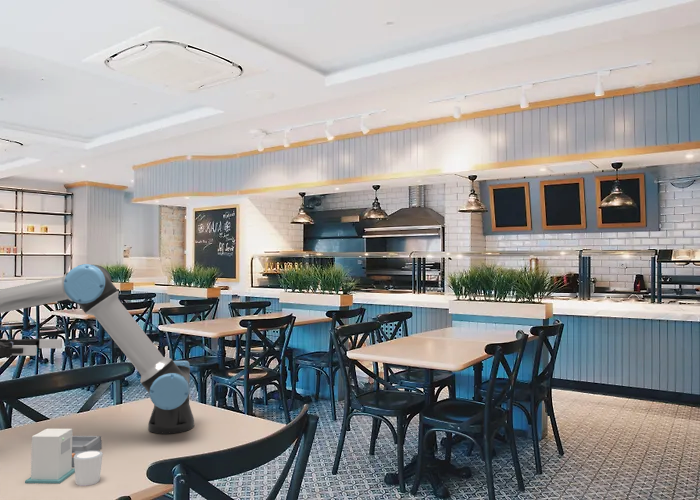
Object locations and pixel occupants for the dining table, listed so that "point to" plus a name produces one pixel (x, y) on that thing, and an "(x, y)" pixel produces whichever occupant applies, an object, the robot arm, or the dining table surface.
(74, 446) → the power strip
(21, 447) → the dining table surface
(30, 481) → the mat
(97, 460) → the white cup
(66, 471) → the block
